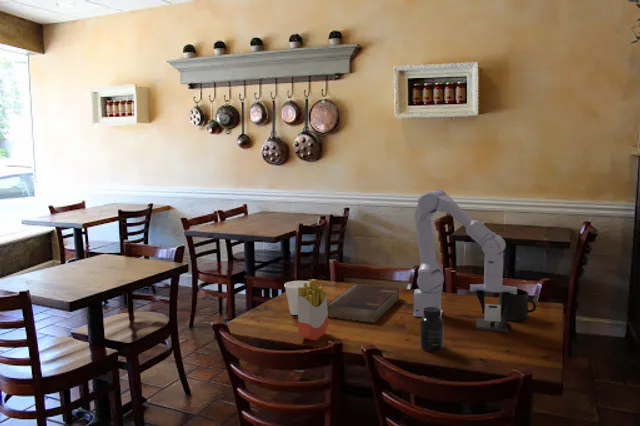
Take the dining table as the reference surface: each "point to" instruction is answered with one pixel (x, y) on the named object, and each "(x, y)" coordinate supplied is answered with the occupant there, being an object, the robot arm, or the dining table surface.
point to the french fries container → (312, 311)
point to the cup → (293, 294)
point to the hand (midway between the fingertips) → (492, 313)
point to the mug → (517, 306)
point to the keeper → (492, 325)
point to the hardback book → (363, 302)
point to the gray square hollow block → (492, 312)
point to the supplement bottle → (431, 330)
